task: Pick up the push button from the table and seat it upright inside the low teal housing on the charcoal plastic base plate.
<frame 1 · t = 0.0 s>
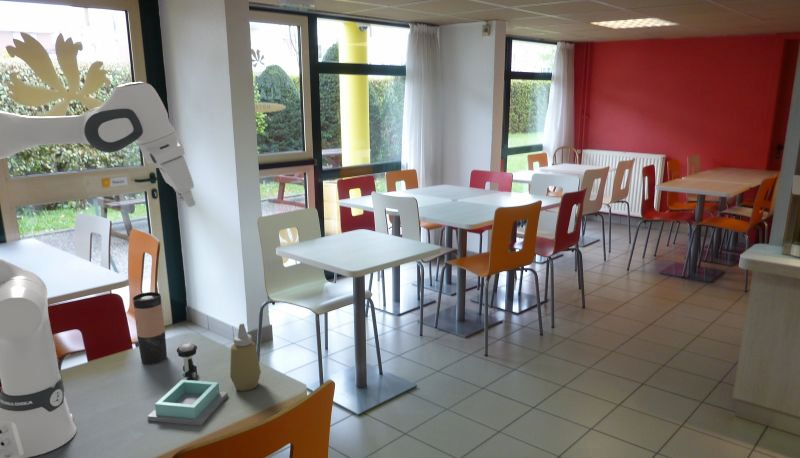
hand: (187, 202, 140), 52 cm above the table, tool tilted 20°, fingers open, 8 cm apart
squeeze bottle: (246, 386, 157), on the table
socket plate: (189, 407, 146), on the table
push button: (189, 379, 161), on the table
travel mug: (154, 359, 174), on the table
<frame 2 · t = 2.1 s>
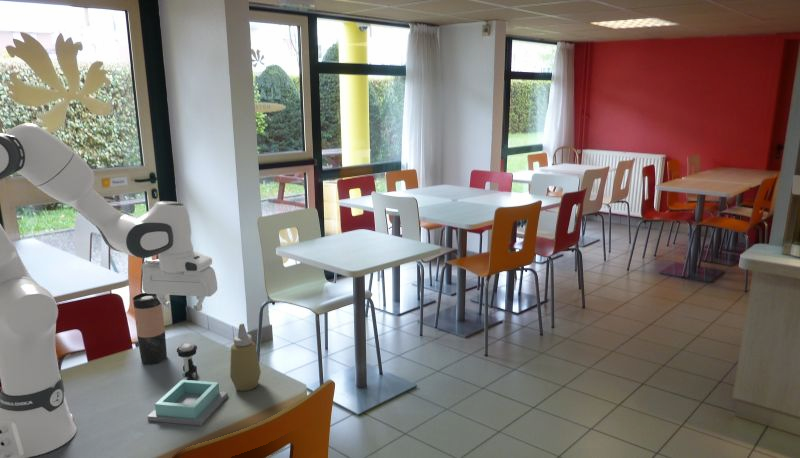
hand: (182, 309, 156), 21 cm above the table, tool pointing down, fingers open, 8 cm apart
nothing on the table moved.
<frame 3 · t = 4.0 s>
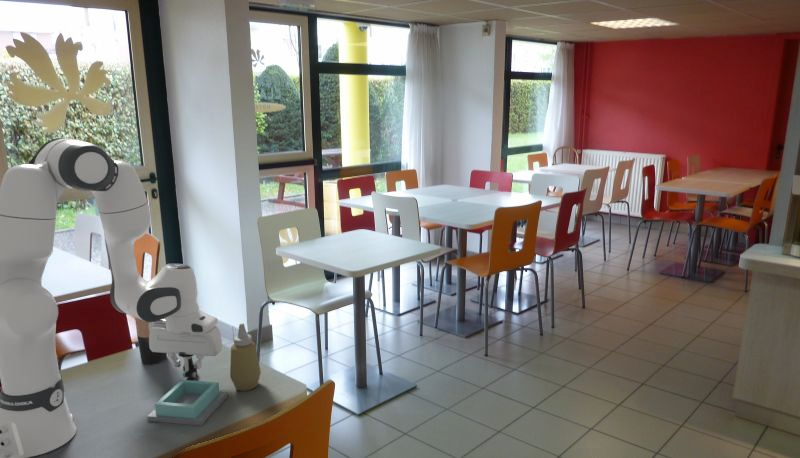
hand: (187, 367, 160), 4 cm above the table, tool pointing down, fingers closed on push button, 5 cm apart
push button: (189, 379, 161), on the table, touching gripper
everything else where it was.
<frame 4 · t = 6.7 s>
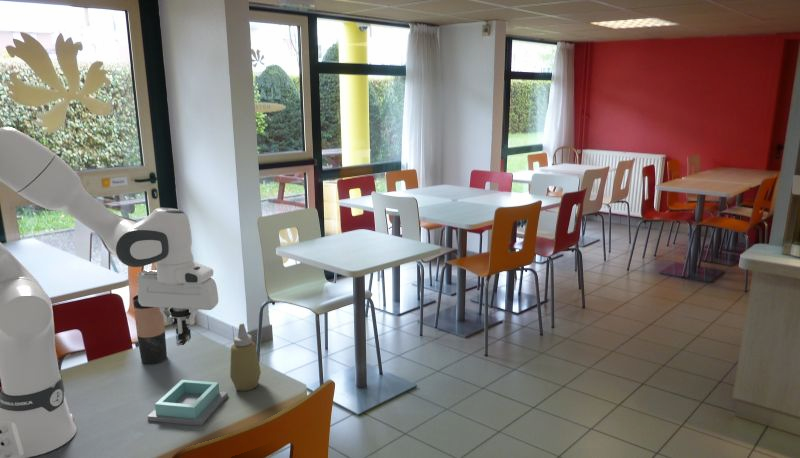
hand: (180, 323, 147), 21 cm above the table, tool pointing down, fingers closed on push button, 4 cm apart
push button: (182, 343, 148), point 15 cm above the table, touching gripper
everything else where it was.
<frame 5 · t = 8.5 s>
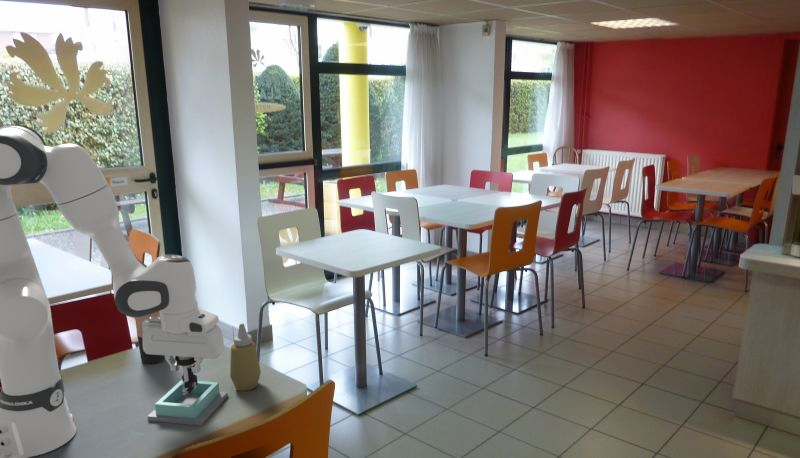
hand: (185, 371, 144), 10 cm above the table, tool pointing down, fingers closed on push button, 4 cm apart
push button: (189, 390, 146), point 5 cm above the table, touching gripper
everything else where it was.
when the fingers open (6 cm above the table, at t = 9.5 s): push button stays where it is, resting on socket plate.
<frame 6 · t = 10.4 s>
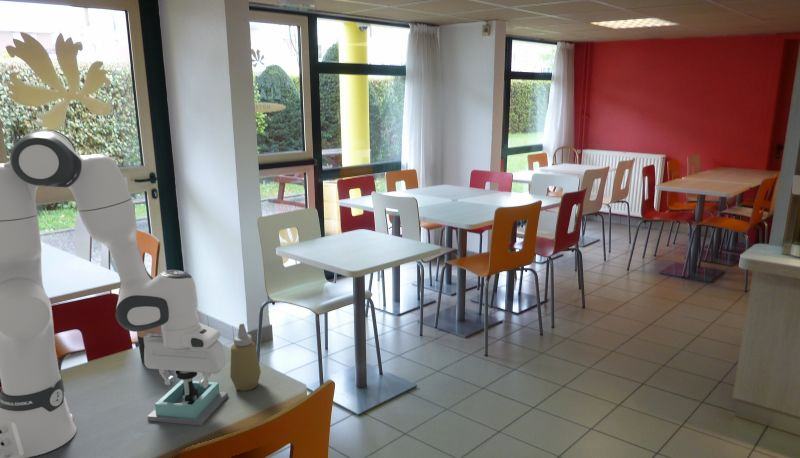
hand: (186, 385, 145), 6 cm above the table, tool pointing down, fingers open, 8 cm apart
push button: (189, 404, 146), point 1 cm above the table, touching socket plate
everything else where it was.
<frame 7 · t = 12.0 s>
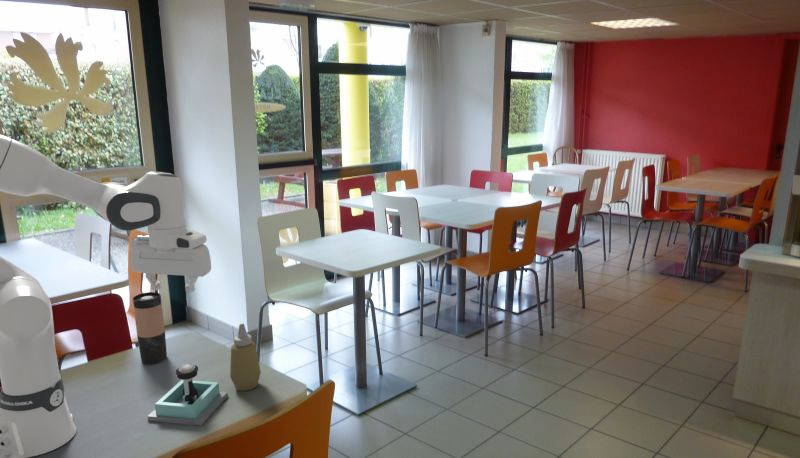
hand: (173, 290, 145), 30 cm above the table, tool pointing down, fingers open, 8 cm apart
nothing on the table moved.
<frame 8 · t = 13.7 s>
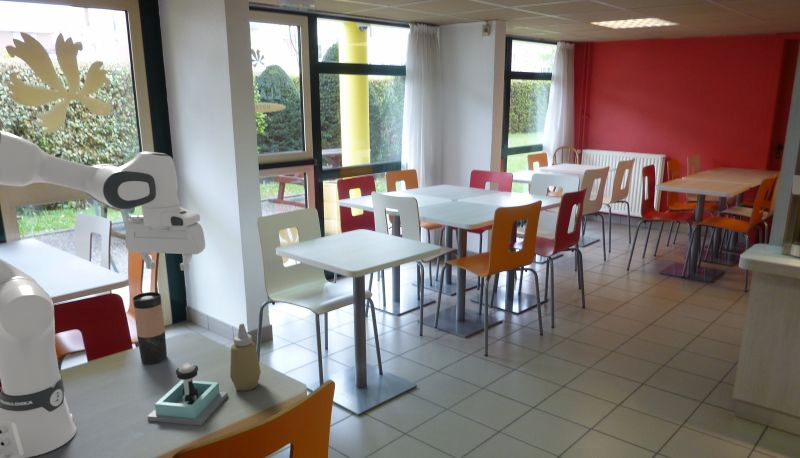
hand: (167, 269, 147), 34 cm above the table, tool pointing down, fingers open, 8 cm apart
nothing on the table moved.
at the end: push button 0.1 cm off-centre on the socket plate, point 1.0 cm above the socket plate's base; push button tilted 0°; the gripper is holding nothing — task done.
